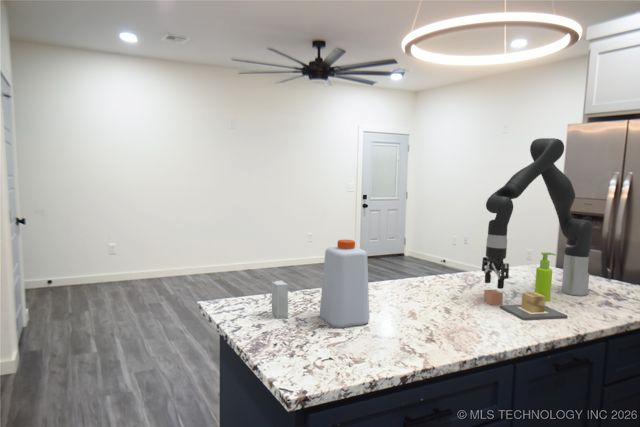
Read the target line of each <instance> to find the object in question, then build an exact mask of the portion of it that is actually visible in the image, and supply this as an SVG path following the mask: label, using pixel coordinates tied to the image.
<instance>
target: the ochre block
mask: <svg viewBox="0 0 640 427" xmlns="http://www.w3.org/2000/svg"><path fill="white" fill-rule="evenodd" d="M520 305H521V308H522V309H524V310H526V311H529V312H531V313H537V312H544V308H545V306H546V301H545V296H543V295H541V294H538V293H536V292H535V291H534V292H532V291H531V292H522V293H521V304H520Z"/></svg>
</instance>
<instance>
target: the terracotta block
mask: <svg viewBox="0 0 640 427" xmlns="http://www.w3.org/2000/svg"><path fill="white" fill-rule="evenodd" d="M483 293H484V294H483V302H484V303H485V304H487V305H489V306H500V305H503V297H504V293H503V292H502V291H499V290H498V289H484V292H483Z"/></svg>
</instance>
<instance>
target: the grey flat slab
mask: <svg viewBox="0 0 640 427" xmlns="http://www.w3.org/2000/svg"><path fill="white" fill-rule="evenodd" d="M521 305H522V304H502V305H499V308H500V309H501V310H503V311H505V312H507V313H508V314H510V313H511V314H510V315H512V314H513V316H514V315H515V316H514V317H516V316H517V318H519V319H521V320H522V321H538V320H540V321H541V320H557V319H558V320H559V319H560V320H561V319H568V315H567V314H565V313H562V312H560V311H558V310H556V309H553V308H551V307H550V306H546V305H545V308H544V312H537V313H531V312H529V311H526V310H524V309H522V308H521Z"/></svg>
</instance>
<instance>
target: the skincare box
mask: <svg viewBox="0 0 640 427" xmlns="http://www.w3.org/2000/svg"><path fill="white" fill-rule="evenodd" d="M270 286H271V314H272V315H273V316H274V317H275V318H276V319H278V320H279V319H280V320H281V319H286V318H288V317H289V291H288V290H289V289H288V288H289V287H288V283H286V282H284V280H281V279H280V280H274V281H271V285H270Z"/></svg>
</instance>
